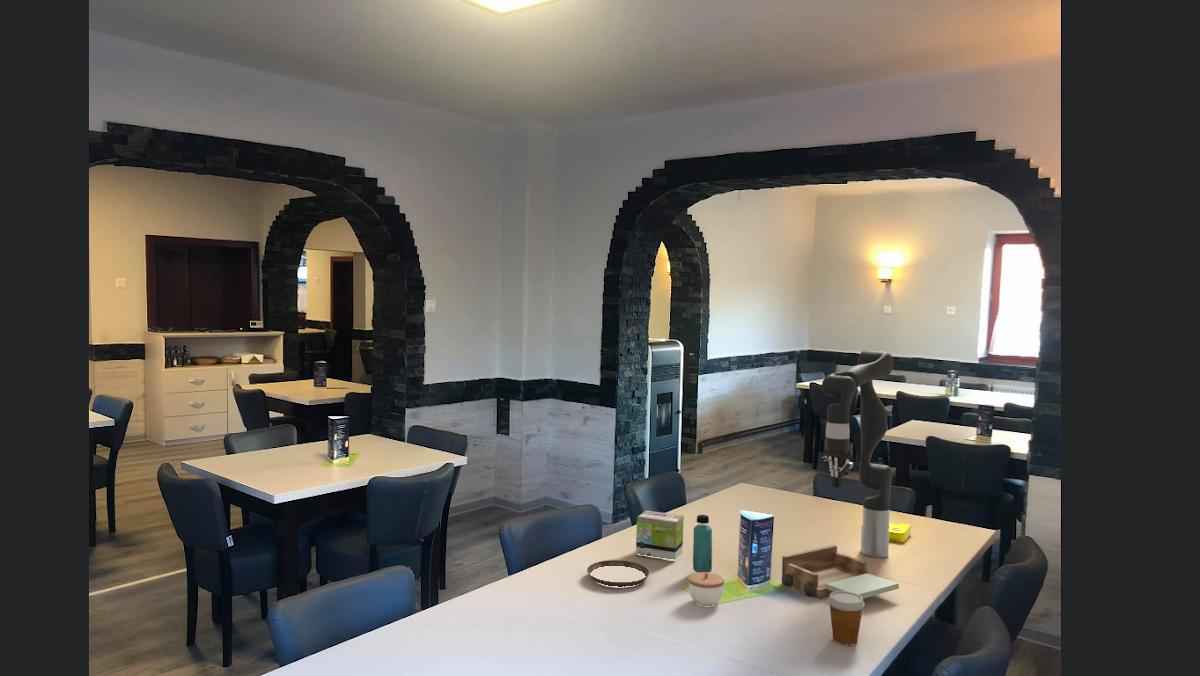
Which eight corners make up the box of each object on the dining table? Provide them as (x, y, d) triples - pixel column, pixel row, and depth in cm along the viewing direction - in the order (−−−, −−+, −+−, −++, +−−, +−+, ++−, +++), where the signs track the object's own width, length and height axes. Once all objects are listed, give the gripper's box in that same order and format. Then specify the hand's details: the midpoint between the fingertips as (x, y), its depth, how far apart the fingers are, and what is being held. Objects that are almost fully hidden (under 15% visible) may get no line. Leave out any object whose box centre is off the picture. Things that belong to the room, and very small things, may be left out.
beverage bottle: (711, 578, 253) (712, 519, 252) (691, 576, 254) (692, 517, 253) (712, 571, 259) (713, 513, 258) (692, 570, 260) (694, 512, 259)
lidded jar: (701, 612, 224) (702, 581, 224) (681, 600, 234) (681, 570, 233) (730, 606, 229) (731, 575, 229) (709, 594, 239) (710, 564, 238)
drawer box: (779, 583, 248) (779, 556, 248) (835, 570, 262) (836, 544, 262) (816, 600, 235) (817, 571, 234) (873, 585, 248) (874, 557, 248)
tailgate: (825, 583, 236) (856, 594, 226) (866, 573, 246) (898, 583, 236) (825, 590, 236) (856, 602, 226) (867, 580, 246) (898, 590, 236)
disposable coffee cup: (821, 633, 211) (822, 590, 211) (854, 632, 212) (855, 590, 211) (834, 648, 202) (836, 604, 201) (869, 647, 202) (870, 603, 202)
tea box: (635, 557, 273) (635, 516, 273) (644, 548, 283) (644, 509, 282) (675, 562, 268) (676, 521, 267) (683, 554, 277) (684, 514, 276)
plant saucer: (662, 580, 251) (662, 570, 251) (620, 597, 236) (621, 586, 236) (615, 565, 265) (615, 555, 265) (573, 580, 250) (573, 570, 250)
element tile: (911, 535, 306) (912, 523, 306) (903, 544, 293) (904, 532, 293) (873, 528, 314) (873, 517, 314) (863, 537, 301) (864, 525, 301)
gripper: (861, 438, 247) (860, 491, 248) (830, 432, 258) (829, 482, 259) (845, 440, 243) (844, 493, 244) (814, 433, 254) (813, 485, 255)
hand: (836, 488), depth 252 cm, fingers closed
